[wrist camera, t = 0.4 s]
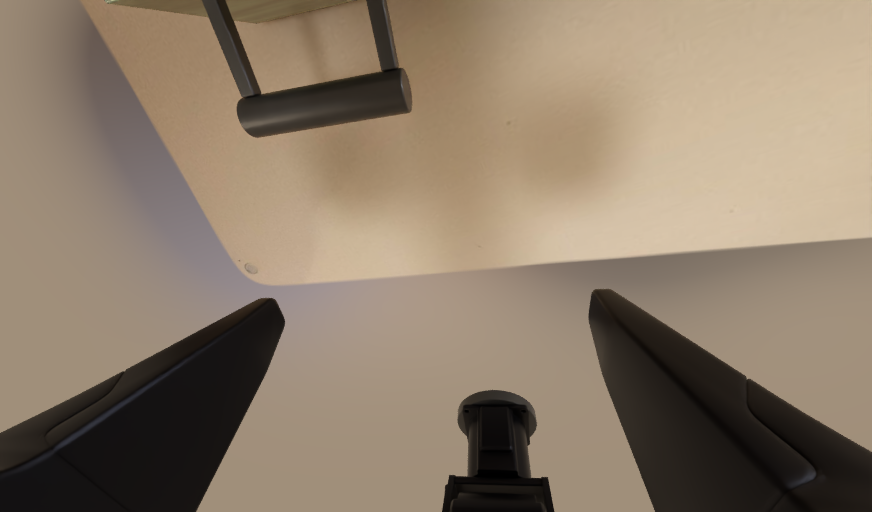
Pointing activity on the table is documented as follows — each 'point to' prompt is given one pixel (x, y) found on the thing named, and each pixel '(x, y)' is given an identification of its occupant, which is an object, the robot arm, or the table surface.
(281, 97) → the drawer
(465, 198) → the table surface
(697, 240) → the table surface
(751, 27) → the table surface
